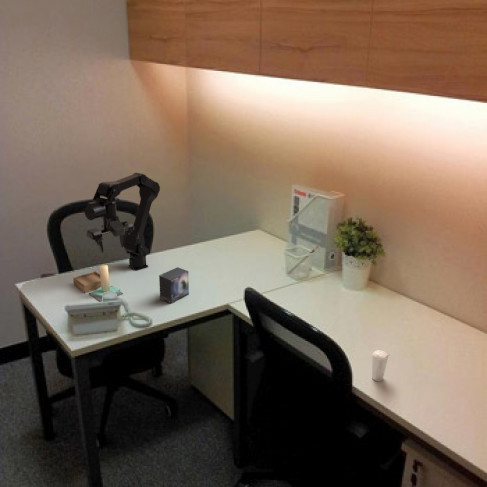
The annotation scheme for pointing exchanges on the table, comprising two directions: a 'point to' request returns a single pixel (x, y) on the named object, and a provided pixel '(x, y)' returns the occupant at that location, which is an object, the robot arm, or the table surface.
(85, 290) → the walnut box
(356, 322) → the table surface
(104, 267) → the lid
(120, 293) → the mat
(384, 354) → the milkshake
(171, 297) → the small box
